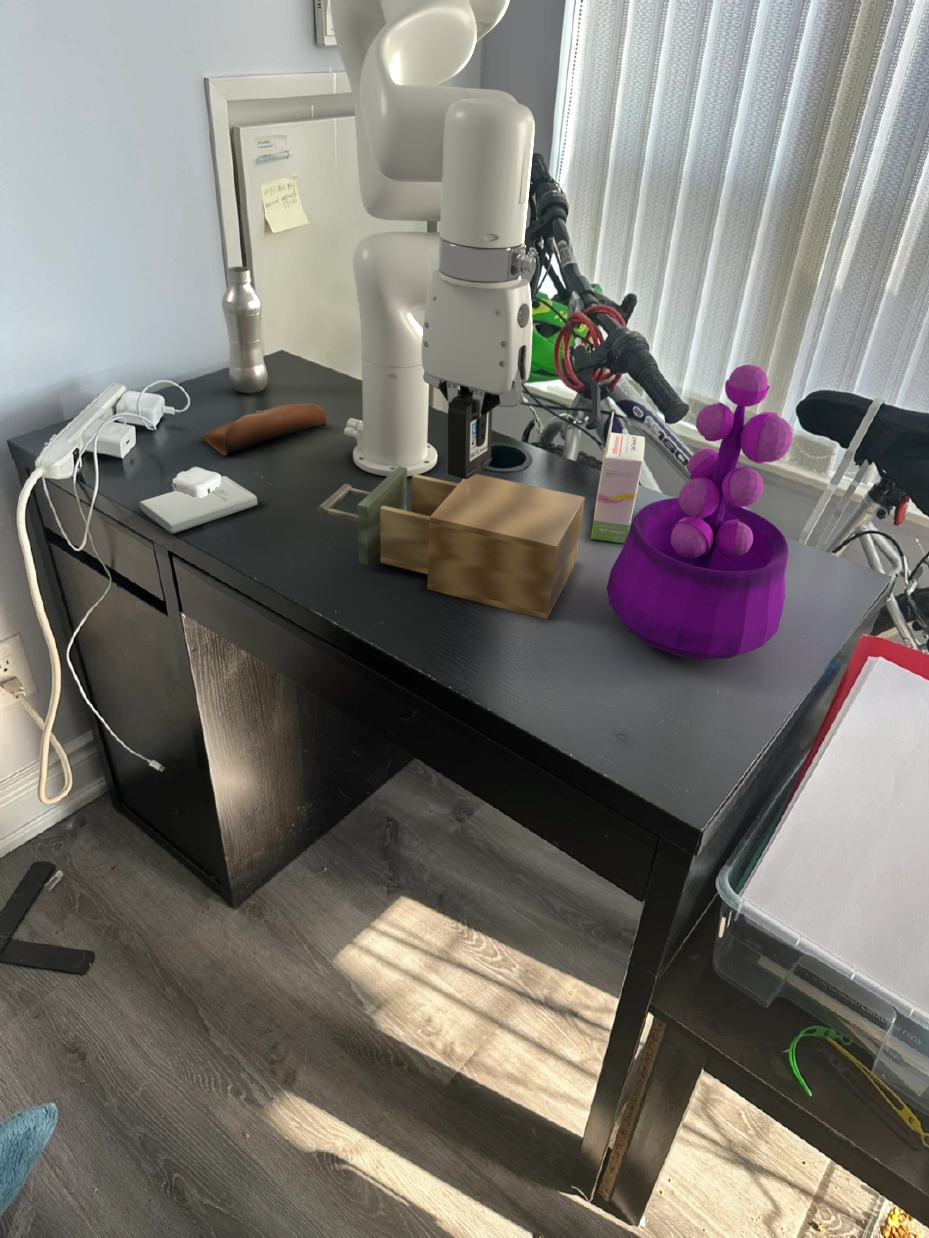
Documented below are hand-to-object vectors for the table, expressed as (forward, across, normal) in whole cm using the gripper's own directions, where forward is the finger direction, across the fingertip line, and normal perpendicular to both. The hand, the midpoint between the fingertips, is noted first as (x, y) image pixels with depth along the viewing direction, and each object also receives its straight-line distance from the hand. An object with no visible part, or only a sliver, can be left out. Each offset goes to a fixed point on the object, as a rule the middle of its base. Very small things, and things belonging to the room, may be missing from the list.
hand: (468, 448), depth 86 cm
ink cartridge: (+2, 0, 0) cm, 2 cm away
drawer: (+18, +10, -4) cm, 21 cm away
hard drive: (+19, +39, +2) cm, 43 cm away
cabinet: (+19, -2, -6) cm, 20 cm away
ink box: (+19, -8, -26) cm, 33 cm away
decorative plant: (+18, -24, -9) cm, 32 cm away
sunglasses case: (+20, +48, -21) cm, 56 cm away
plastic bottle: (+20, +62, -34) cm, 74 cm away
